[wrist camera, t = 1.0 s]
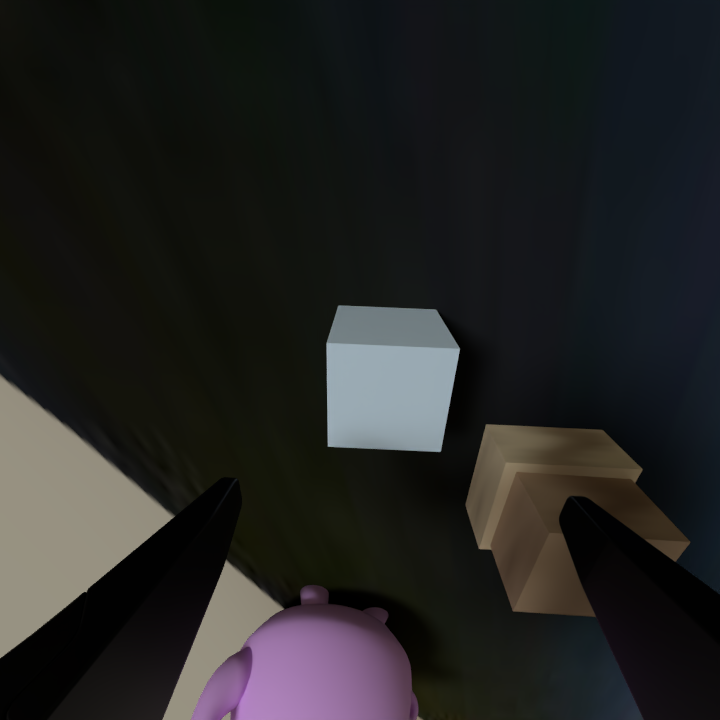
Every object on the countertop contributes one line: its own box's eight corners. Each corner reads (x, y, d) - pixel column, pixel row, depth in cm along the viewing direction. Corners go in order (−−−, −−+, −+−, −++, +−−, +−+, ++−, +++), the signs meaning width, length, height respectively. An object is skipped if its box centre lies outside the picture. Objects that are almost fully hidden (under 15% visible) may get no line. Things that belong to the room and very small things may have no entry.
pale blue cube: (435, 309, 17) (459, 348, 12) (424, 392, 19) (440, 451, 14) (338, 305, 17) (326, 342, 12) (338, 388, 19) (328, 446, 14)
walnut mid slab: (631, 478, 17) (690, 541, 14) (589, 552, 19) (631, 619, 16) (516, 471, 17) (549, 533, 14) (490, 545, 19) (512, 611, 16)
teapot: (192, 619, 30) (87, 863, 19) (247, 535, 25) (144, 811, 14) (373, 675, 34) (375, 906, 23) (456, 615, 29) (511, 879, 17)
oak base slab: (599, 427, 20) (642, 469, 17) (563, 506, 23) (594, 555, 20) (484, 421, 20) (505, 462, 17) (464, 501, 23) (479, 548, 20)
